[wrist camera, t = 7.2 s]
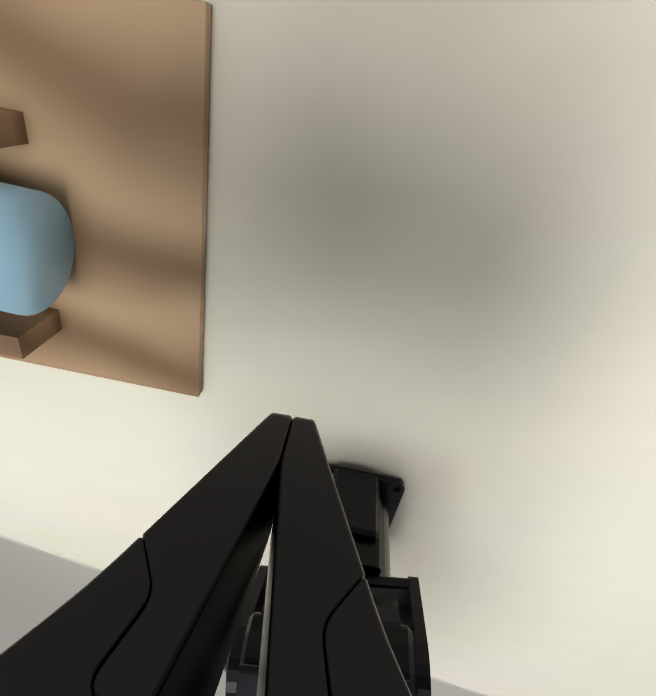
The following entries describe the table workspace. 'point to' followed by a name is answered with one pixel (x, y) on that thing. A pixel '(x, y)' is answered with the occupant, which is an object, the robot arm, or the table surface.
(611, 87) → the table surface
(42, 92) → the rest
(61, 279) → the bottle
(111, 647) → the robot arm
